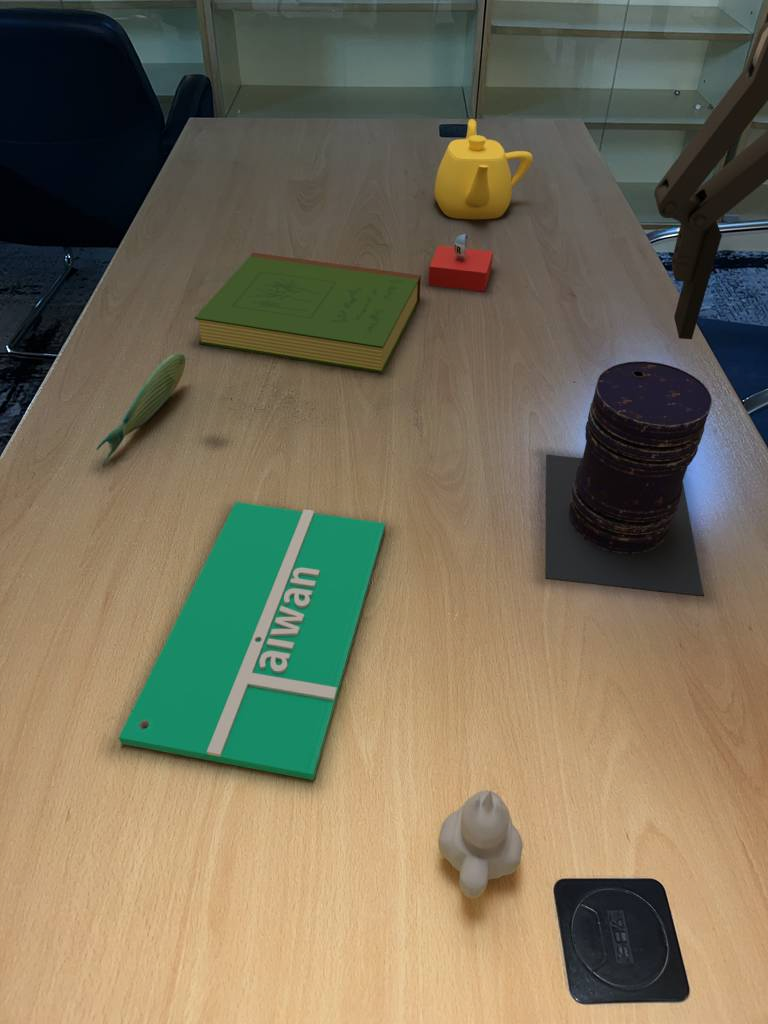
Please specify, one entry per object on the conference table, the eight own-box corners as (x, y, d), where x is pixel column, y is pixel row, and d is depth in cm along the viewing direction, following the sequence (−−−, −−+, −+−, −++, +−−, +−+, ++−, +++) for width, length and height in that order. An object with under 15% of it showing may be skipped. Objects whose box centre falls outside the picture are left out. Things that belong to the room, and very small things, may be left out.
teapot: (536, 233, 127) (546, 162, 119) (437, 233, 127) (441, 162, 119) (517, 180, 143) (525, 114, 136) (430, 179, 143) (433, 114, 135)
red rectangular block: (428, 284, 114) (430, 242, 110) (437, 263, 119) (439, 221, 115) (484, 291, 113) (488, 248, 109) (491, 269, 118) (495, 227, 113)
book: (419, 300, 111) (420, 275, 108) (382, 373, 98) (382, 346, 95) (250, 276, 116) (247, 251, 113) (193, 342, 103) (189, 316, 100)
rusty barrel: (688, 545, 76) (736, 418, 66) (592, 562, 75) (626, 434, 64) (640, 479, 83) (677, 354, 73) (552, 493, 82) (576, 367, 72)
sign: (312, 771, 58) (117, 735, 60) (313, 780, 59) (121, 743, 61) (385, 520, 77) (235, 499, 79) (385, 529, 78) (236, 508, 80)
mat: (703, 596, 72) (703, 595, 72) (545, 578, 73) (545, 577, 73) (680, 468, 85) (680, 467, 85) (546, 455, 86) (546, 454, 86)
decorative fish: (95, 433, 80) (189, 474, 80) (176, 332, 91) (257, 369, 91) (95, 474, 85) (183, 512, 85) (171, 373, 96) (248, 408, 96)
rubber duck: (523, 826, 56) (539, 767, 51) (508, 922, 52) (524, 869, 46) (447, 806, 57) (455, 747, 52) (426, 898, 53) (432, 844, 47)
